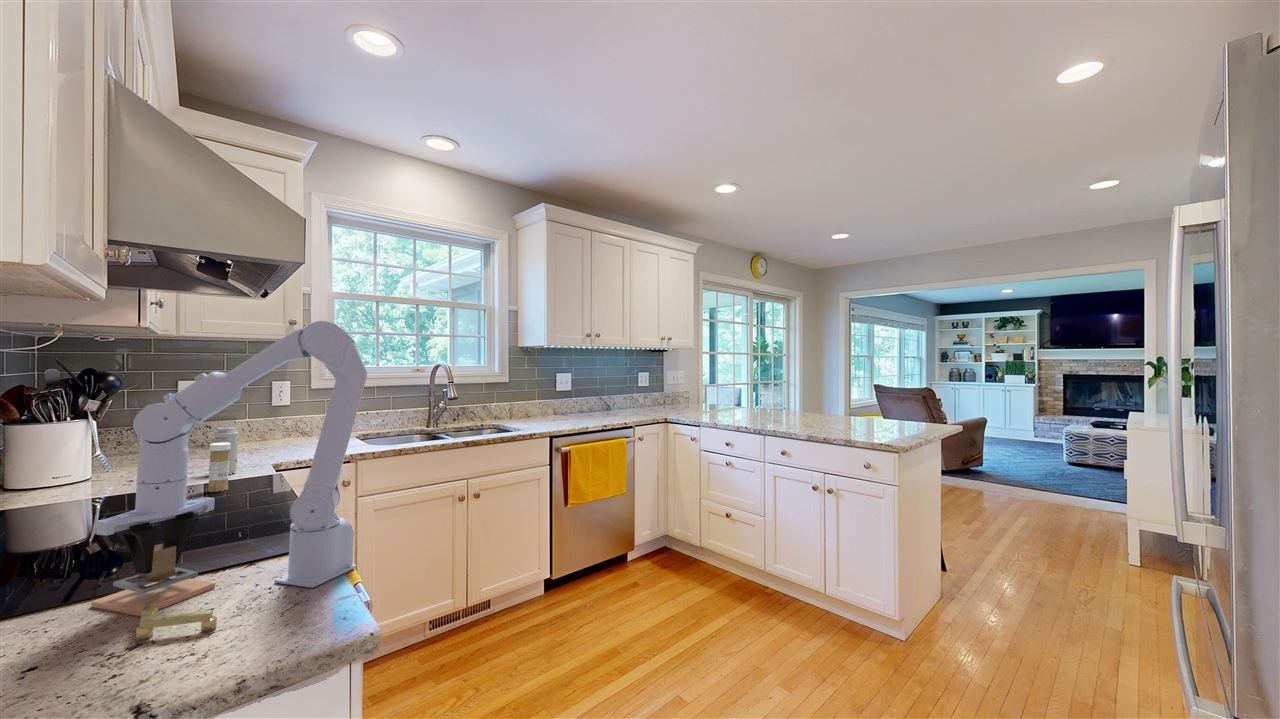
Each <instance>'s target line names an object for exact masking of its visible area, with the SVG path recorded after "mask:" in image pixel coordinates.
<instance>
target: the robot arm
mask: <svg viewBox="0 0 1280 719" xmlns="http://www.w3.org/2000/svg"><path fill="white" fill-rule="evenodd" d="M312 357H313V358H315V359H316V360H318V361H319V362H320V363H322V364H323V365H324V367H325V368H326V369H327V371H328V372H329V373H330V374H331V375H332V377H333V378H334V379H335V382H334V386H333V389H332V393H331V397H330V398H329V399H330V400H329V403H328V406H327V410H326V412H325V416H324V420H323V424H322V428H321V431H320V434H319V438H318V441H317V445H316V448H315V452H314V455H313V459H312V462H311V467H310V469H309V472H308V474H307V477H306V479H305V483H304V485H303V489H302V491H301V492H300V494H299V495H298V497H297V498H296V499H294V501H293V503H292V504H291V506H290V510H289V517H290V520H291V522H292V523H290V525H289V526H290V528H289V529H290V530H289V547H288V565H287V566H288V567H287V568H288V571H287V573H286V574H284V575H282V576H278V577H276V578H275V579H274V583H277V584H283V585H289V586H290V585H291V586H295V587H304V588H309V589H312V588H315V587H318V586H319V585H321V584H324V583H326V582H328V581H330V580H333V579H335V578H337V577H339V576H341V575H343V574H345V573H347V572H349V571H352V570H353V569H356V568H357V564H355V563H353V558H354V534H355V533H354V529H353V525H352V524H351V522H350V521H349V520H347V519H346V518H344V517H339V516H338V515H337V513H336V512H335V510H336V508H337V507H338V505H339V503H340V499H341V493H340V490H339V482H340V478H341V474H342V472H341V471H342V467H343V465H344V461H345V456H346V453H347V450H348V446H349V443H350V439H351V436H352V433H353V428H354V425H355V421H356V418H357V413H358V410H359V407H360V404H361V400H362V396H363V394H364V393H363V392H364V389H365V386H366V382H367V378H368V371H367V368H366V366H365V364H364V361H363V359H362V357H361V354H360V352H359V349H358V348H357V345H356V342H355V340H354V339H353V338H352V337H351V336H350V335H349V334H348V332H347V331H345V330H344V329H343V328H342V327H340V326H339V325H337V324H336V323H335V322H332V321H327V320H318V321H313V322H311V323H309V324H308V325H307V326H306V327H305V328H304V329H303V328H300V329H297V330H294V331H293V332H292V331H291V333H289V334H287V335H285V336H283V337H282V338H280V339H278V340H276V341H275V342H274V343H272V344H270V345H269V346H267V347H265V348H264V349H262V350H261V351H259V352H257V353H256V354H255V355H253V356H252V357H250V358H249V359H246V360H245V361H244V362H242V363H240V364H239V365H237V366H236V367H234V368H233V369H231V370H229V371H228V372H222V371H211V372H210V373H208V374H207V373H204V372H203V373H199V374H198V375H196V376H194V377H193V378H194V380H195V382H193V383H191V384H189V385H188V386H186V387H184V388H182V389H181V390H179V391H177V392H175V393H172V392H170V393H167V394H165V395H163V400H164V403H162V402H159V403H158V402H157V403H151V404H147V405H145V407H143V409H142V410H140V411H139V412H138V413H137V414H136V415H135V416H134V418H133V422H132V429H133V431H134V433H135V434H136V435H137V436H138V438H139V443H138V445H139V446H138V452H137V469H136V470H137V472H136V486H135V487H136V490H135V491H136V492H135V505H134V508H135V509H134V510H131V511H128V512H124V513H121V514H118V515H115V516H111V517H108V518H104V519H98V520H97V521H96V531H95V532H96V533H95V534H96V535H97V536H98V535H99V536H107V537H108V536H111V535H114V534H115V533H116V534H117V537H119V539H120V540H121V541H122V542H123V544H124V545H125V546H126V548H127V550H128V553H129V555H130V556H131V559H132V563H133V566H134V570H135V573H136V574H139V573H140V574H148V573H150V571H151V567H152V562H153V552H154V547H155V545H156V542H157V539H158V536H159V534H160V531H161V532H162V539H163V540H162V541H163V543H165V544H170V545H175V546H176V563H175V566H176V565H178V564H179V561H180V558H181V555H182V553H183V551H184V548H185V546H186V544H187V541H188V540H189V537H190V536H191V534H192V532H193V531H194V530H195V528H196V527H197V526H198V525H199V523H200V516H199V515H194V514H196V513H200V512H204V511H205V512H209V511H213V510H214V509H215V502H216V501H215V498H214V497H206V496H205V497H201V498H195V499H190V500H189V499H188V500H187V488H188V487H187V484H188V468H189V467H188V466H189V439H190V438H189V437H190V436H189V435H190V433H191V432H192V431H194V429H195V427H196V425H197V424H202V423H204V421H206V420H207V419H210V418H211V417H213V416H214V415H216V414H218V413H219V412H221V411H222V410H225V409H226V408H228V407H229V406H231V405H232V404H234V403H235V402H237V401H239V400H240V399H241V395H242V390H243V388H244V387H246V386H247V385H249V384H251V383H253V382H254V381H256V380H258V379H260V378H261V377H263V376H265V375H267V374H269V373H271V372H272V371H274V370H276V369H278V368H279V367H281V366H283V365H285V364H287V363H288V362H290V361H299V360H307V359H312ZM154 523H159V524H160V529H159V528H153V526H152V525H150V524H154ZM163 543H162V544H163Z"/></svg>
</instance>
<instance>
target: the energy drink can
mask: <svg viewBox="0 0 1280 719" xmlns="http://www.w3.org/2000/svg"><path fill="white" fill-rule="evenodd" d="M213 443H230V444H231V447H230V451H229V474H230V473H234V472H236V471H238V469H237V468H238V453H239V452H238V451H239V450H238V449H239V431H238V428H237V427H235V426H234V427H229V426H228V427H218V428H217V431H215V433H214V442H213ZM234 474H235V473H234Z"/></svg>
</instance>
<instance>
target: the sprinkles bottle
mask: <svg viewBox="0 0 1280 719" xmlns="http://www.w3.org/2000/svg"><path fill="white" fill-rule="evenodd" d="M230 447H231V444H230V443H214V442H213V443H210V445H209V452H210V453H209V465H208V489H207V491H208V492H209V493H216V492H217V493H219V491H221V492H225V491H228V490H229V476H230V475H229V451H230ZM224 490H225V491H224Z"/></svg>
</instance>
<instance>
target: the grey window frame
mask: <svg viewBox="0 0 1280 719" xmlns="http://www.w3.org/2000/svg"><path fill="white" fill-rule="evenodd" d="M175 563H176V546H175V545H170V544H165V543H160V544H155V547H154V552H153V562H152V567H151V571H150V573H148V574H140V573H138V574H136V575H133V576H132V575H131V576H129V577H125V578H122V579H119V580H116V581H113V582H112V583H113V584H112V586H113V587H116V588H119V589H124V590H131V591H135V592H139V593H142V594H143V593H146V592H149V591H152V590H156V589H159V588H162V587H165V586H168V585H171V584H174V583H177V582H180V581H183V580H186V579H193V578H196V577H198V576H199V571H196V570H195V571H194V570H192V569H187V568H182V567H177V566H176V565H175ZM173 576H176V577H175V578H172V579H171V578H170V577H173ZM154 582H157V583H156V584H153V585H149V586H144V585H148V584H151V583H154Z"/></svg>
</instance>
